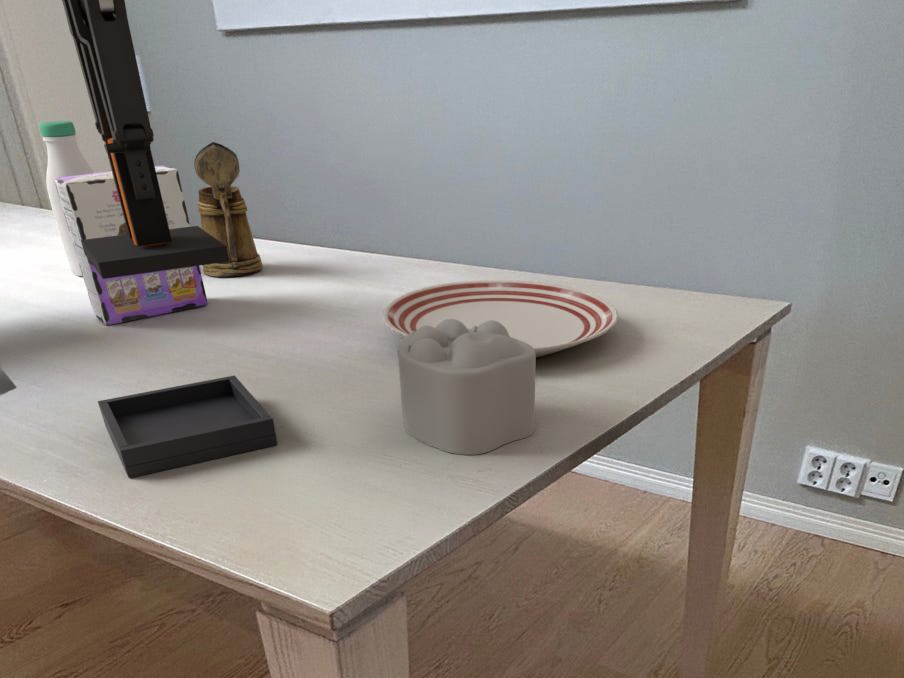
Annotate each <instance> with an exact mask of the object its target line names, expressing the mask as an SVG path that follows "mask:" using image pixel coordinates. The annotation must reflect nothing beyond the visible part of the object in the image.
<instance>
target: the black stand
mask: <svg viewBox="0 0 904 678" xmlns="http://www.w3.org/2000/svg"><path fill="white" fill-rule="evenodd" d="M112 140H113V138H110V139H108V140H107V141H108V143H112ZM111 156H112V160H113V164H114V168H115V172H116V176H117V180H118V184H119V187H120V191H121V195H122V199H123V203H124V207H125V211H126V215H127V218H128V222H129V226H130V230H131V234H132V238H130V237H129V235H128V234H126V235H118V236H110V237H102V238H93V239H85V240H81V243H82V246H83V250H84V253H85V255H86V257H87V258H88V259H89V261H90V262H91V263H92V265H93V266H94V268H95V269H96V270H97V272H98V273H99V274H100V276H101V277H102V278H103V279H107V278H114V277H121V276H128V275H136V274H143V273H150V272H157V271H164V270H171V269H179V268H186V267H193V266H199V267H200V266H203V265H207V264H214V263H222V262H229V256H228V251H227V246H226V245H224V244H223V243H221V242H220V241H219V240H217V239H216V238H214V237H213V236H211V235H210V234H208V233H207V232H206V231H204V230H203V229H202V227H200V226H198V225H193V226H190V227H184V228H176V229H169V230H170V235H171V239H172V242H165V243H157V244H149V245H141V246H138V245H137V244H136V240H135V236H134V232H133V229H132V225H131V221H130V217H129V213H128V209H127V205H126V201H125V197H124V193H123V190H122V186H121V182H120V178H119V174H118V170H117V166H116V162H115V158H114V154H113V153H111Z"/></svg>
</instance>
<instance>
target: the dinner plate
mask: <svg viewBox="0 0 904 678" xmlns="http://www.w3.org/2000/svg"><path fill="white" fill-rule="evenodd" d="M618 318H619V315H618V311H617V309H616V308H615V307H614V305H612V304H611V303H610V302H609V301H607V300H606V299H604V298H603V297H601V296H599V295H596V294H594V293H591V292H589V291H586V290H582V289H579V288H575V287H571V286H567V285H561V284H554V283H550V282H549V283H548V282H541V281H532V280H531V281H530V280H512V279H511V280H509V279H508V280H507V279H506V280H505V279H486V280H485V279H480V280H478V279H477V280H465V281H455V282H445V283H441V284H433V285H429V286H425V287H421V288H418V289H413V290H411V291H408V292H406V293H404V294H402V295H399V296H398V297H395V298H394V299H393V300H391V301H390V302H388V304H387V305H386V306H385V307H384V309H383V310H382V320H383V322H384V324H385V325H386V326H387V328H389V329H390V330H392V331H393V332H394V333H395V334H397V335H398V336H400V337H402V338H404V337H405V336H406V335H408V334H410V333H412V332H413V331H415V332H416V330H417V329H419V328H420V327H422V326H432V327H434V328H435V327H436V326H437V325H438V324H439V323H440V322H442V321H444V320H447V319H456V320H458V321H460V322H462V323H463V324H464V325H465V326H466V328H467V329H471V328H472V327H474V326H477V327H478V326H479V325H481V324H482V323H484V322H487V321H491V320H493V321H497V322H499V323H501V324H502V325H503V326H504V327H505V328H506V330H507V331H508V334H509V336H510V337H512V338H515V339H517V340H520V341H523V342H525V343H527V344H529V345H531V346H532V347H533V348H534V350H535V355H536V358H539V357H543V356H544V357H545V356H549V355H552V354H555V353H558V352H561V351H562V350H563V351H564V350H567V349H569V348H573V347H576V346H578V345H580V344H584V343H586V342H589V341H593V340H594V339H597V338H599V337H601V336H603V335H605V334H607V332H609V331H610V330H612V329H613V328H614V326H615V325H616V324H617V323H618Z"/></svg>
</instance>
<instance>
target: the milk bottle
mask: <svg viewBox="0 0 904 678" xmlns="http://www.w3.org/2000/svg"><path fill="white" fill-rule="evenodd" d="M38 129H39V132H40V134H41V136H42V141H43V142H45V145H46V149H47V166H46V177H45V182H46V183H45V184H46V190H47V194H48V198H49V202H50V207H51V209H52V213H53V216H54V219H55V223H56V225H57V230H58V233H59V236H60V239H61V242H62V246H63V249H64V253H65V255H66V258H67V262H68V265H69V268H70V271H71V273H72V274H73V275H74V276H77V277H83V275H82V271H81V268H80V265H79V261H78V258H77V255H76V251H75V248H74V245H73V241H72V238H71V234H70V231H69V228H68V225H67V221H66V218H65V215H64V211H63V208H62V204H61V201H60V198H59V194H58V191H57V188H56V185H55V181H54V178H61V177H68V176H76V175H84V174H92V173H95V171H94V169H93V168H92V167H91V166H90V164H89V163H88V162H87V161H88V160H86V158H85V156H84V155H83V153H82V151H81V150H80V148H79V145H78V142H77V139H78V137H77V134H76V133H77V132H76V128H75V124H74V122H72V120H71V121H70V120H54V121H45V122H40V123H39V124H38Z"/></svg>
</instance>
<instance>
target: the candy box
mask: <svg viewBox="0 0 904 678" xmlns="http://www.w3.org/2000/svg"><path fill="white" fill-rule="evenodd" d="M154 166H155V170H156V174H157V179H158V183H159V187H160V192H161V196H162V200H163V205H164V209H165V213H166V218H167V222H168V226H169V229H176V228H184V227H191V223H190V219H189V214H188V210H187V205H186V201H185V198H184V192H183V189H182V183H181V179H180V173H179V170H178V168H174V167H170V166H166V165H163V164H161V165H154ZM54 181H55V185H56V188H57V191H58V194H59V198H60V201H61V204H62V208H63V211H64V215H65V218H66V221H67V225H68V228H69V231H70V234H71V238H72V241H73V245H74V248H75V251H76V255H77V258H78V261H79V265H80V268H81V271H82V275H83V276H82V277H83V278H82V279H83V281H84V285H85V288H86V291H87V296H88V299H89V301H90V305H91V308H92V312H93V315H94V316H95V317H96V318H97V319H98V320H100V321H101V322H102V324H103V325H106V326H112V325H116V324H117V325H118V324H122V323H125V322H129V321H135V320H140V319H145V318H149V317H150V318H151V317H155V316H160V315H164V314H165V315H166V314H169V313H174V312H178V311H183V310H188V309H194V308H198V307H201V306H206V305H208V304H209V303H208V297H207V293H206V289H205V285H204V280H203V276H202V272H201V267H200V266H193V267H186V268H179V269H171V270H164V271H157V272H150V273H143V274H136V275H128V276H121V277H114V278H107V279H103V278H102V277H101V276H100V274H99V273H98V272H97V270H96V269H95V268H94V266H93V265H92V263H91V262H90V261H89V259H88V258H87V257H86V255H85V253H84V250H83V246H82V243H81V240H85V239H93V238H102V237H110V236H118V235H126V234H128V231H127V227H126V224H125V220H124V216H123V212H122V208H121V204H120V201H119V197H118V193H117V189H116V185H115V181H114V177H113V174H112V170H109V171H101V172H94V173H92V174H84V175H76V176H68V177H61V178H54Z"/></svg>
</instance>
